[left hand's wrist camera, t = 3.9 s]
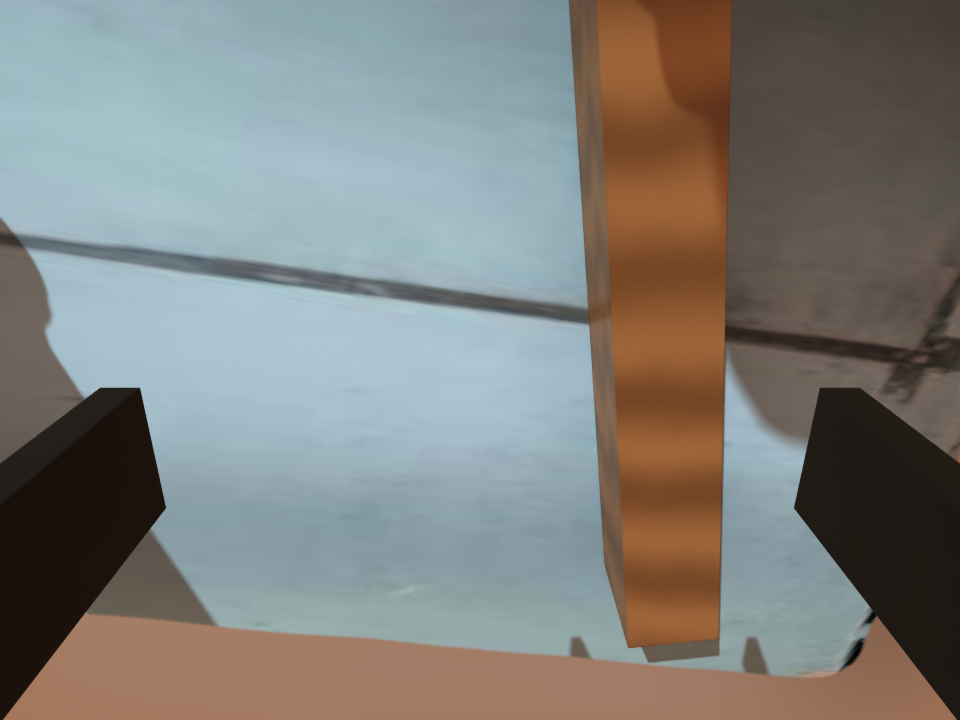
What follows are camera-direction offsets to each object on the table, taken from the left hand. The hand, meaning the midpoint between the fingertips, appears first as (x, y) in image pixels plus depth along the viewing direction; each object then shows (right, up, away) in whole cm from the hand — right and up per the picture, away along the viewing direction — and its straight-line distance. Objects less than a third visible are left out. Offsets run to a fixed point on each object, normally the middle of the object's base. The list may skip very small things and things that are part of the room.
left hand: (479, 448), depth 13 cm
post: (+8, +20, +21) cm, 30 cm away
